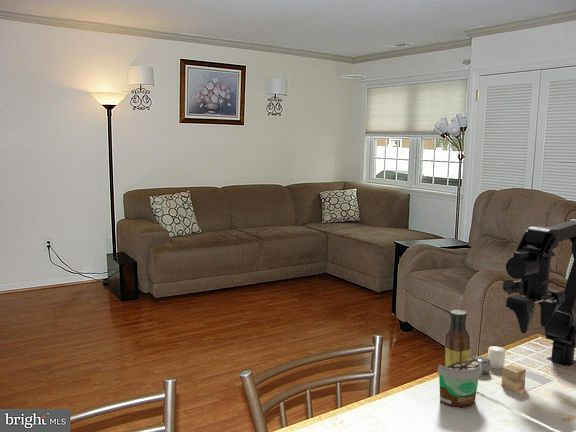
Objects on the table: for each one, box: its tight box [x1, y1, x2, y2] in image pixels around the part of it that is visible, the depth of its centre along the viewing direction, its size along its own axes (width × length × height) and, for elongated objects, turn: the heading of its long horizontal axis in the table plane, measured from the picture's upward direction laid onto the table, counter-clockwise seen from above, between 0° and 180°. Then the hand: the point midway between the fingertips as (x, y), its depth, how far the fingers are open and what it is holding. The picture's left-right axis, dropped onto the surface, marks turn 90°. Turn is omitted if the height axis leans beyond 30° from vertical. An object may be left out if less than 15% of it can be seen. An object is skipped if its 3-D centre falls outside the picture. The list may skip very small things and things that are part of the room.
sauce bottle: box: [444, 309, 471, 367], centre depth 138 cm, size 7×6×20 cm
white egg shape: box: [487, 345, 506, 370], centre depth 149 cm, size 4×4×6 cm
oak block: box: [501, 363, 527, 392], centre depth 137 cm, size 4×4×5 cm
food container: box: [436, 356, 482, 409], centre depth 128 cm, size 12×6×10 cm, turn 117°
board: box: [496, 370, 554, 395], centre depth 140 cm, size 14×7×1 cm, turn 123°
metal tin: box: [470, 355, 491, 376], centre depth 146 cm, size 5×5×4 cm
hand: (533, 329), depth 143 cm, fingers open, 9 cm apart
